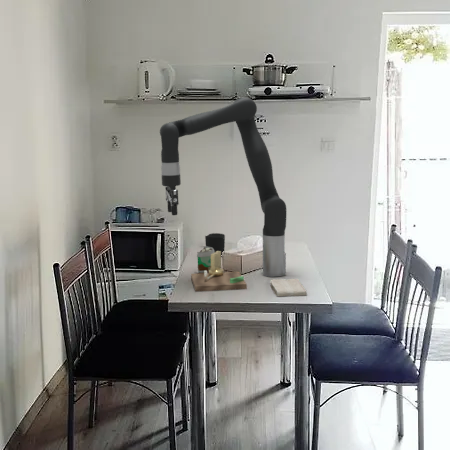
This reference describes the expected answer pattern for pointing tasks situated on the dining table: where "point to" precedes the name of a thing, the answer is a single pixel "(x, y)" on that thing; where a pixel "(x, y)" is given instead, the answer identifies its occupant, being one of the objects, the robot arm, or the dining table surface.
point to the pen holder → (215, 241)
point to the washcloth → (287, 287)
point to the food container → (204, 259)
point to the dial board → (219, 282)
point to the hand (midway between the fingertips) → (172, 213)
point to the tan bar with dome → (214, 266)
